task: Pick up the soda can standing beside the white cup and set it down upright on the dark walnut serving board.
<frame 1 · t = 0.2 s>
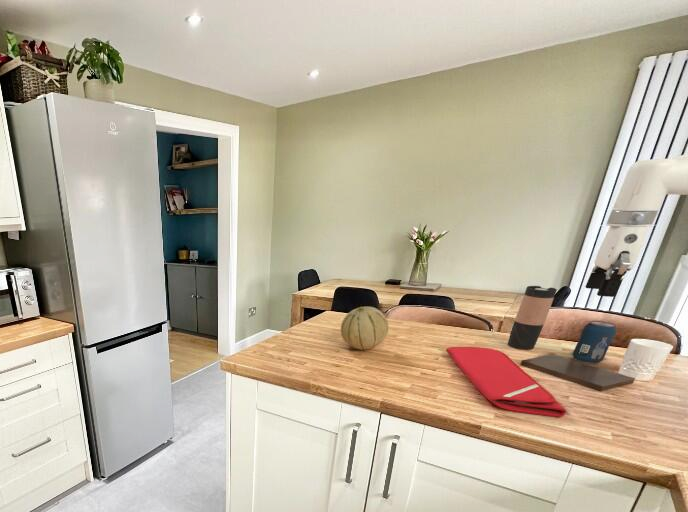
hand: (599, 292, 100), 25 cm above the countertop, tool pointing down, fingers open, 9 cm apart
cantaloupe: (360, 348, 139), on the countertop
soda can: (585, 361, 124), on the countertop
red folded napkin: (494, 380, 113), on the countertop
white cup: (634, 377, 113), on the countertop
serving board: (573, 373, 116), on the countertop
travel mug: (519, 346, 137), on the countertop
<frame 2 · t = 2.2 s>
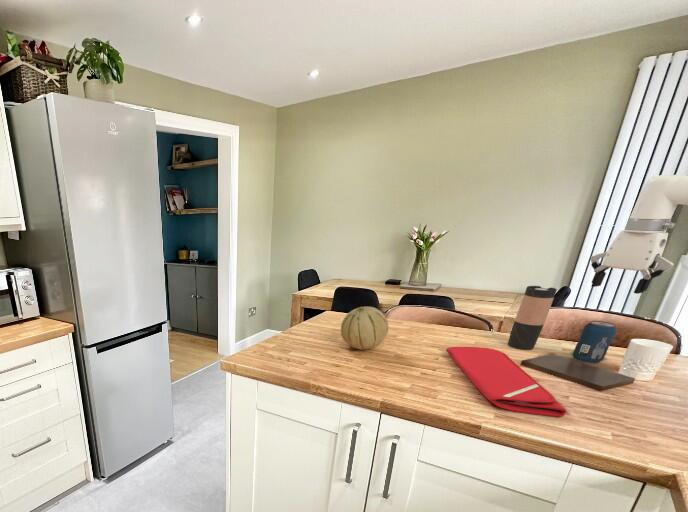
hand: (616, 289, 115), 22 cm above the countertop, tool pointing down, fingers open, 9 cm apart
nothing on the countertop moved.
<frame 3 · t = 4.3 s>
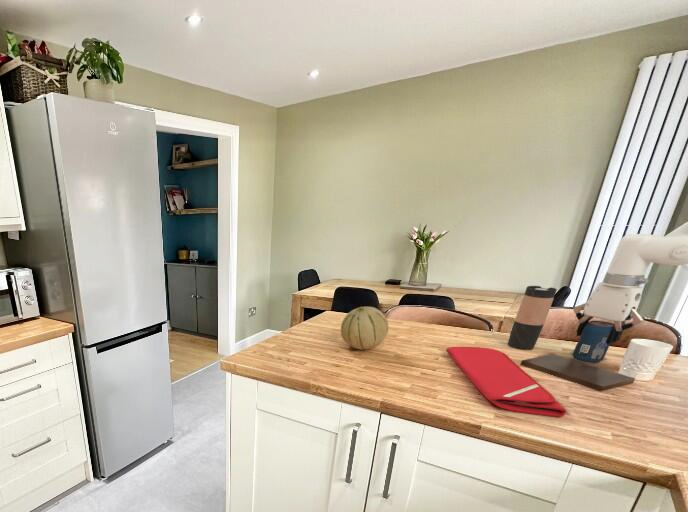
hand: (595, 338, 121), 7 cm above the countertop, tool pointing down, fingers closed on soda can, 7 cm apart
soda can: (585, 361, 124), on the countertop, touching gripper
everything else where it was.
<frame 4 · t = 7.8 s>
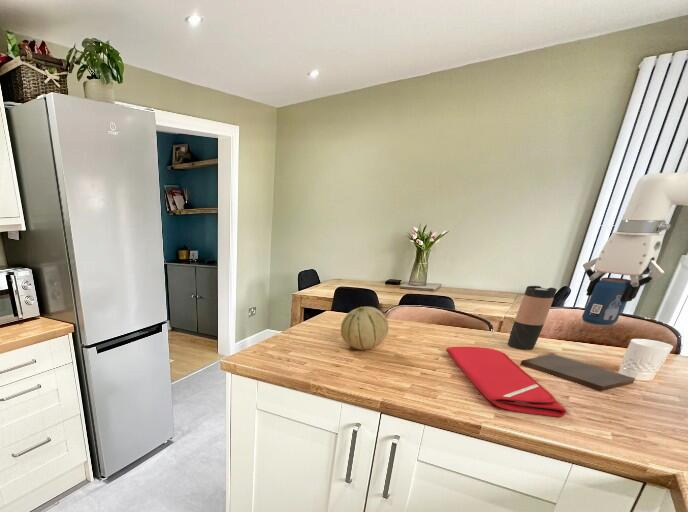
hand: (608, 297, 108), 22 cm above the countertop, tool pointing down, fingers closed on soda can, 7 cm apart
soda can: (596, 323, 111), point 15 cm above the countertop, touching gripper
everything else where it was.
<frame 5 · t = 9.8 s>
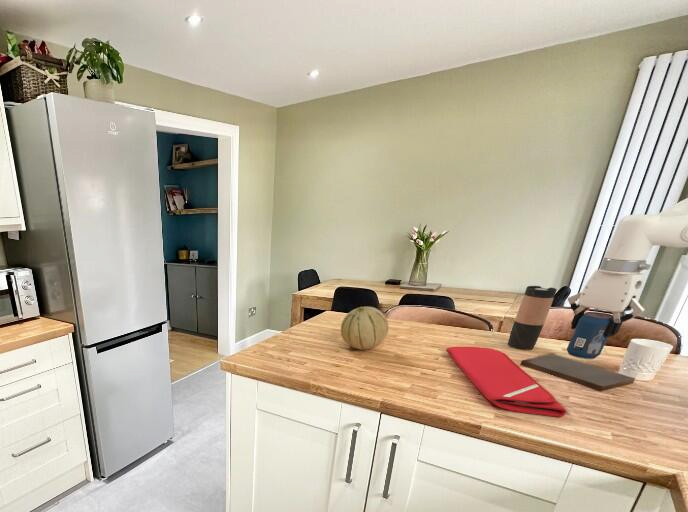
hand: (591, 331, 110), 13 cm above the countertop, tool pointing down, fingers closed on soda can, 7 cm apart
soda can: (580, 356, 113), point 5 cm above the countertop, touching gripper
everything else where it was.
when the fingers open (9 cm above the countertop, at t = 11.4 s): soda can stays where it is, resting on serving board.
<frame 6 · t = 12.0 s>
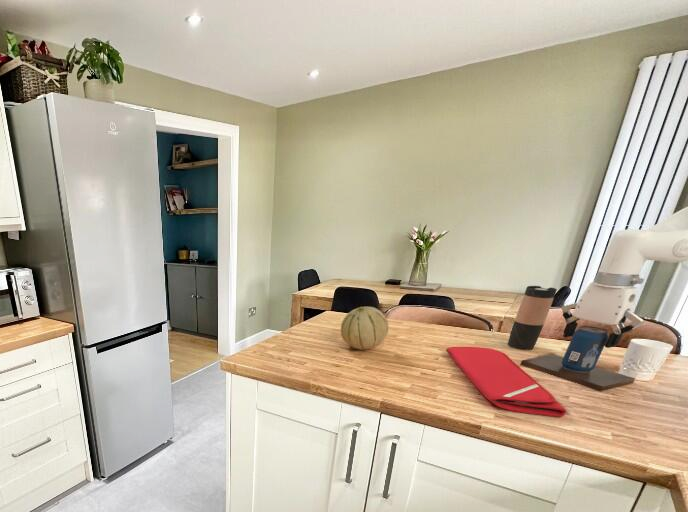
hand: (587, 341, 112), 10 cm above the countertop, tool pointing down, fingers open, 9 cm apart
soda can: (575, 369, 115), point 1 cm above the countertop, touching serving board
everything else where it was.
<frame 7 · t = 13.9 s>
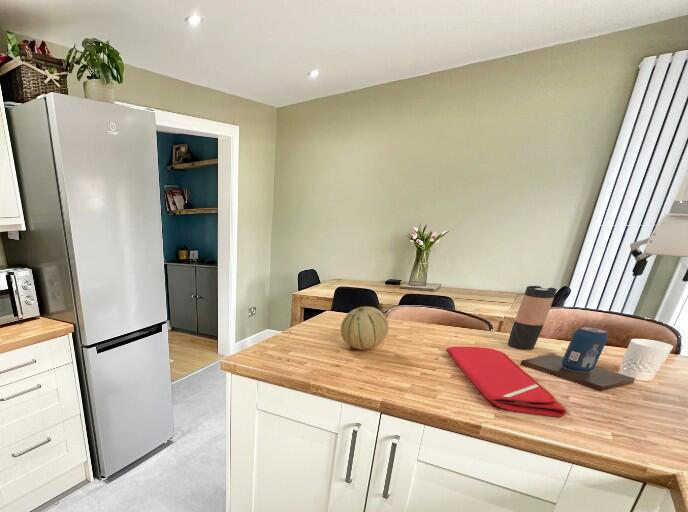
hand: (660, 278, 107), 27 cm above the countertop, tool pointing down, fingers open, 9 cm apart
nothing on the countertop moved.
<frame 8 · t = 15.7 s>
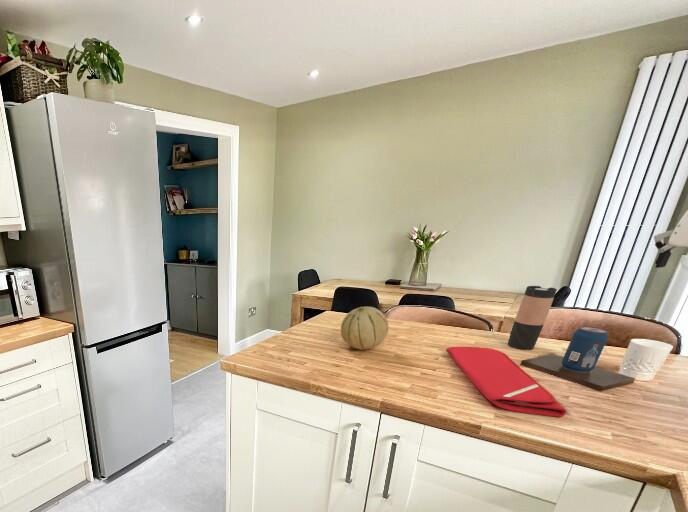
hand: (684, 269, 108), 28 cm above the countertop, tool pointing down, fingers open, 9 cm apart
nothing on the countertop moved.
at the end: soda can inside the target area on the serving board (0.1 cm from its centre), point 1.3 cm above the serving board's base; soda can tilted 0° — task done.
